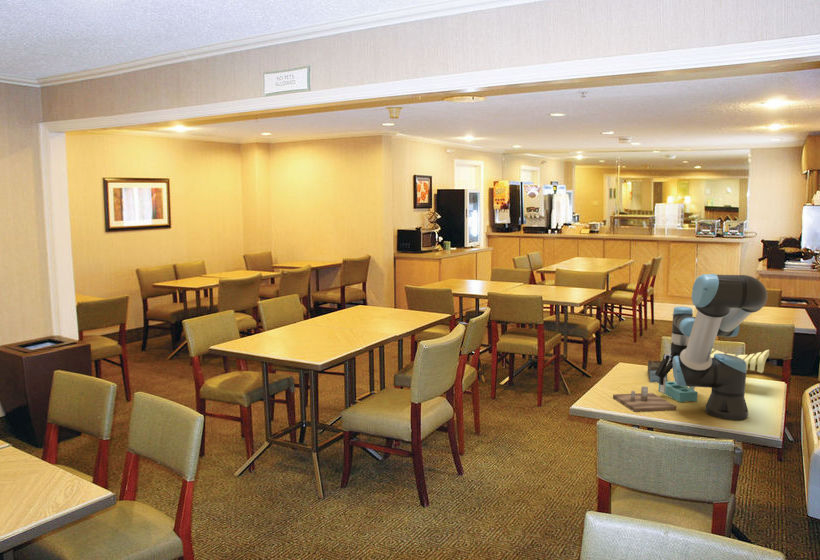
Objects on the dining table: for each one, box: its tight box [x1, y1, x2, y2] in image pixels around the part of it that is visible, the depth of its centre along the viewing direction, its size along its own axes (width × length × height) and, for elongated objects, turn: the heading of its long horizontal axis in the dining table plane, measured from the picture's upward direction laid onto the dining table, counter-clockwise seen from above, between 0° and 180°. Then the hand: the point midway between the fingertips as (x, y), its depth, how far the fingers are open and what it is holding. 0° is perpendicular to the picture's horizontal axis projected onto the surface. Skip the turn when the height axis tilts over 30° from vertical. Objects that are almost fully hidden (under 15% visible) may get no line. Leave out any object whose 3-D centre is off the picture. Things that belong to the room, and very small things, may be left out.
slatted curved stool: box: [710, 348, 770, 374], centre depth 288 cm, size 30×16×18 cm, turn 52°
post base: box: [612, 386, 678, 413], centre depth 262 cm, size 18×18×7 cm
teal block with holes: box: [658, 380, 698, 403], centre depth 273 cm, size 16×8×4 cm, turn 9°
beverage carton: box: [647, 359, 668, 384], centre depth 301 cm, size 8×19×7 cm, turn 162°
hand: (677, 391), depth 274 cm, fingers open, 13 cm apart
